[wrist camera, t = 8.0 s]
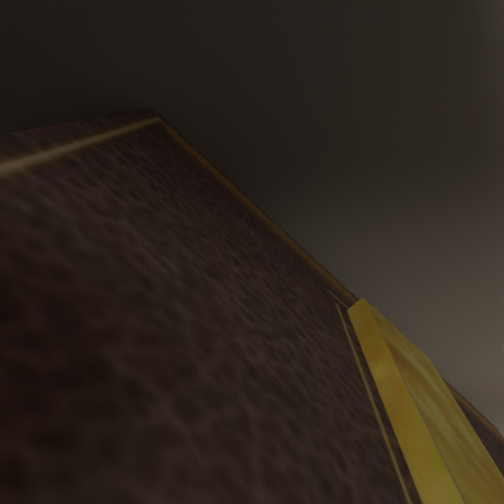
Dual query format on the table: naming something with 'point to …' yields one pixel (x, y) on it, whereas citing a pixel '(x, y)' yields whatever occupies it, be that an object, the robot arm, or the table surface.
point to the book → (200, 345)
